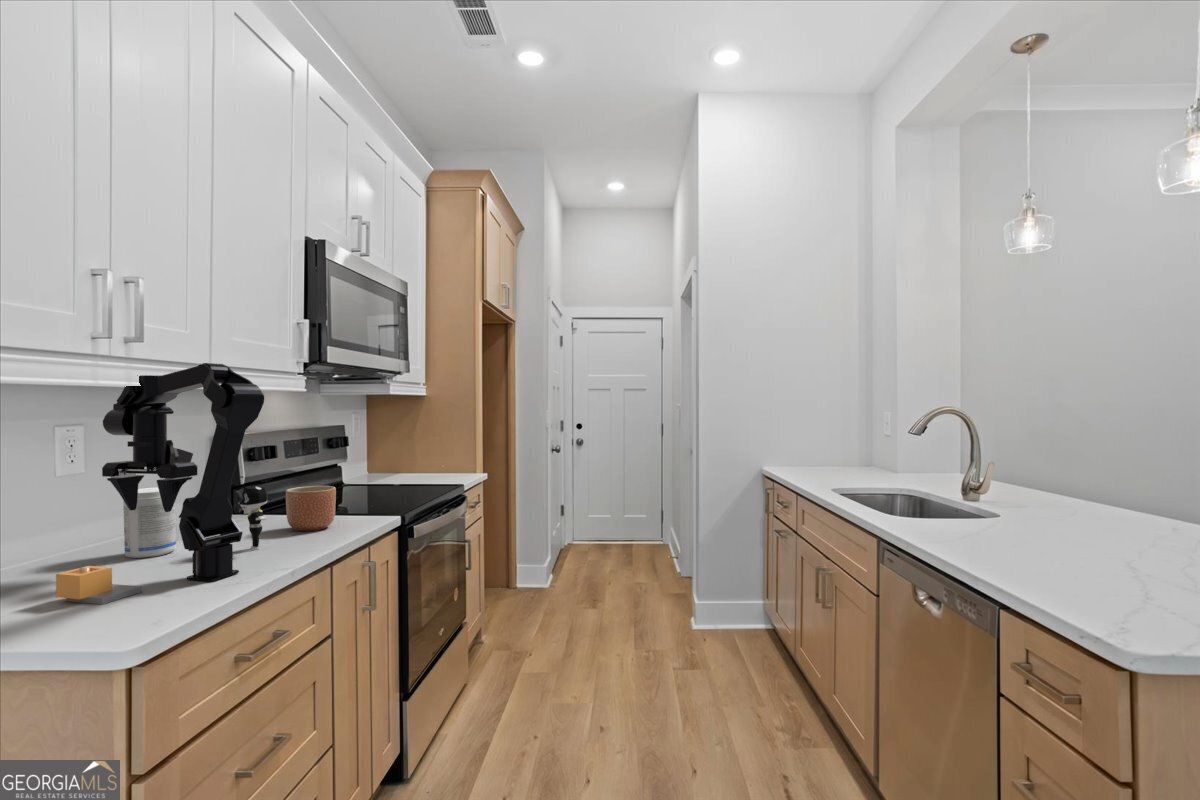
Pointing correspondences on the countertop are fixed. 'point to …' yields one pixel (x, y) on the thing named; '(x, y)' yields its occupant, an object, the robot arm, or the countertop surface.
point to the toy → (254, 510)
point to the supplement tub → (149, 526)
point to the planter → (310, 507)
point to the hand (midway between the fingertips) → (150, 510)
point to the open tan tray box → (83, 582)
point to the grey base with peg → (108, 592)
